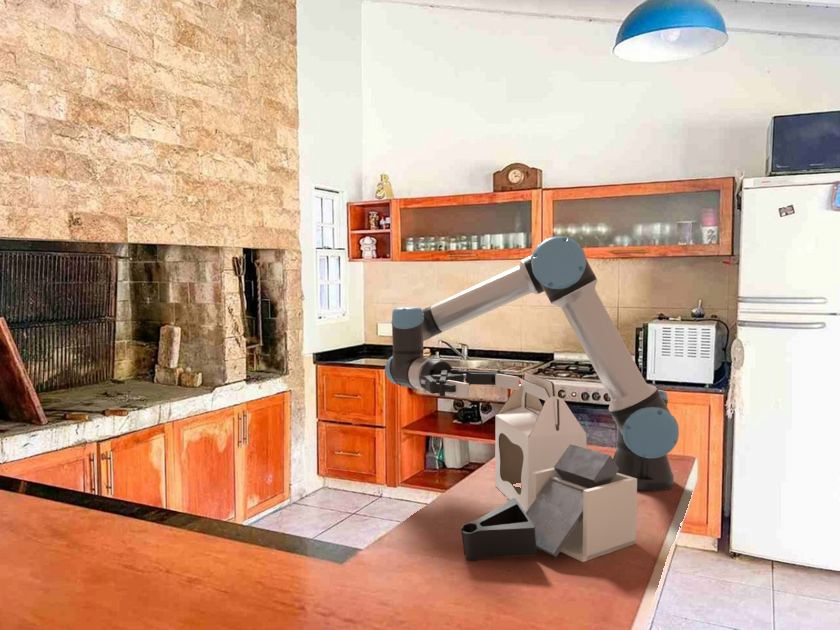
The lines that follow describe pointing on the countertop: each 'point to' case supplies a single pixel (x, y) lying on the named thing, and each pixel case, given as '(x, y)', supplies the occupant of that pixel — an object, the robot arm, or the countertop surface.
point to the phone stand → (500, 533)
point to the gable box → (532, 436)
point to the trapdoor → (568, 496)
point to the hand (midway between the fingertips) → (493, 386)
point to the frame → (598, 515)
